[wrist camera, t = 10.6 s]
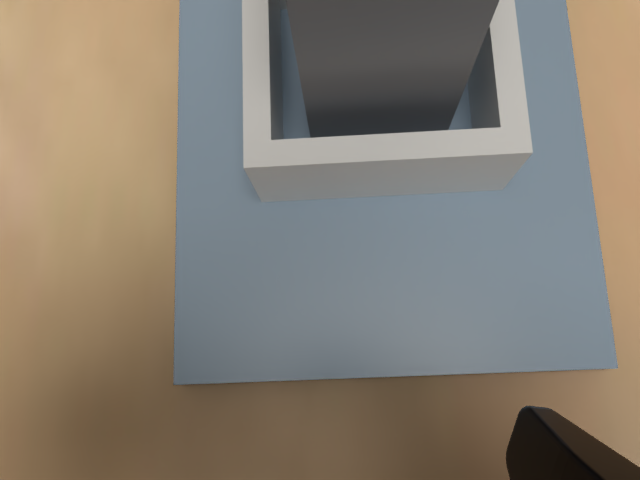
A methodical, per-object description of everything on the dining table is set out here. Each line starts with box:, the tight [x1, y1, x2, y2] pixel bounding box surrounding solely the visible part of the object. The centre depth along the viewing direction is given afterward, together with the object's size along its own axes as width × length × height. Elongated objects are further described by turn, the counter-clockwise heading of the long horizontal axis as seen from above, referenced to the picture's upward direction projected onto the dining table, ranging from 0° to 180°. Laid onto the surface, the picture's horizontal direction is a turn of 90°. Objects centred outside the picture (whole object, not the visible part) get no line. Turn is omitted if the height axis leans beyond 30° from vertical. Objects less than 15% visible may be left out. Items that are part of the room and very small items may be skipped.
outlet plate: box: [174, 0, 618, 385], centre depth 20 cm, size 20×14×4 cm
